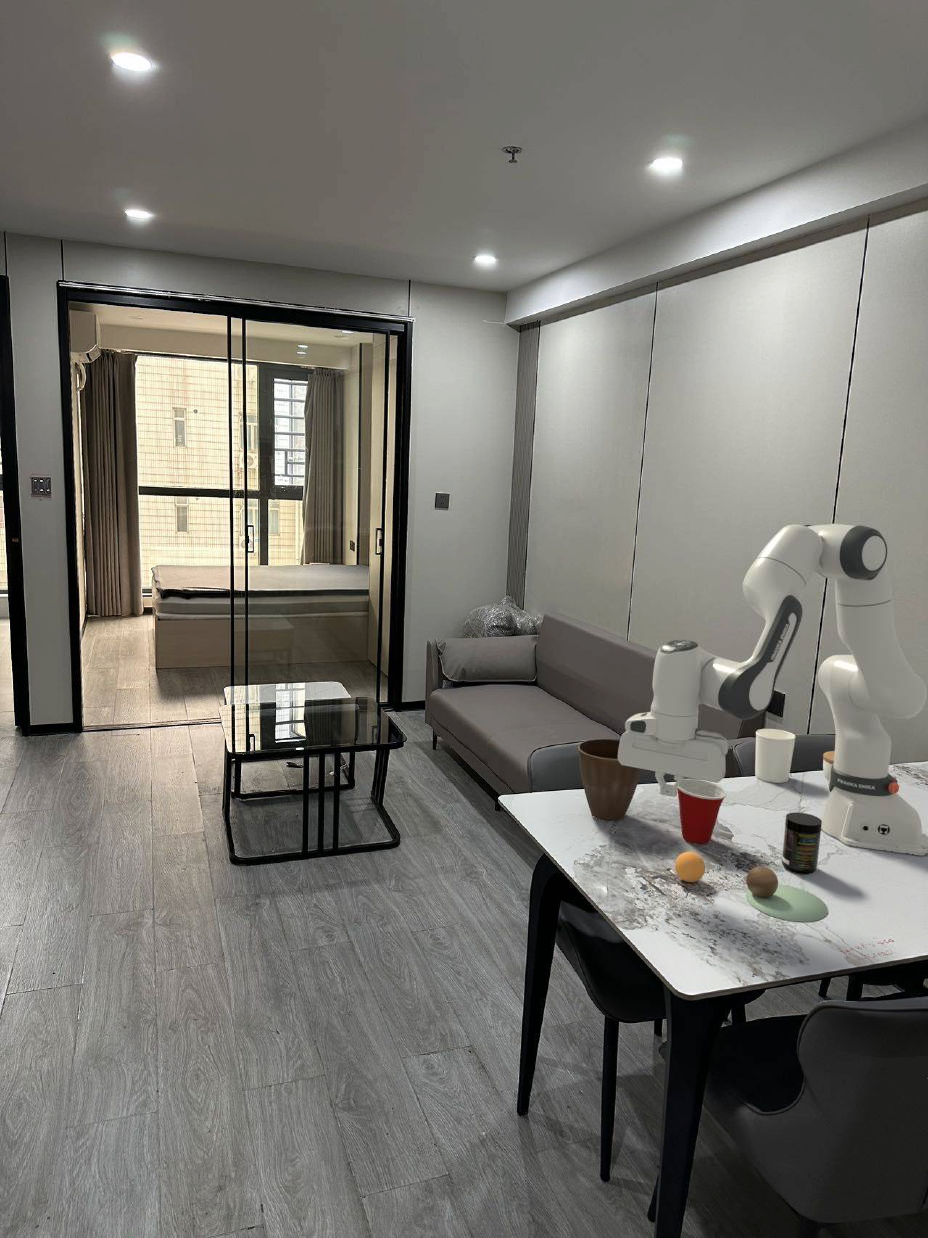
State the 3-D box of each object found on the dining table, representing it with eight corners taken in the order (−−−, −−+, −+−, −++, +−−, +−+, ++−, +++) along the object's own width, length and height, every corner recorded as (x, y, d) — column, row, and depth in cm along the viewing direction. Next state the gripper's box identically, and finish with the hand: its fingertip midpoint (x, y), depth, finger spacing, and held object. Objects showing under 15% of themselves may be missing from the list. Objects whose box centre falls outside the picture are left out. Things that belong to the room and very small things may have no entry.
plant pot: (627, 834, 186) (632, 763, 183) (564, 819, 193) (567, 750, 190) (649, 812, 199) (653, 746, 196) (588, 799, 206) (592, 735, 203)
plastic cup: (725, 852, 178) (730, 797, 176) (672, 846, 180) (676, 792, 178) (721, 832, 188) (725, 780, 186) (670, 827, 190) (674, 775, 189)
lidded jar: (875, 791, 218) (878, 756, 217) (840, 794, 215) (843, 758, 214) (845, 777, 228) (848, 743, 227) (811, 780, 225) (814, 746, 224)
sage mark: (831, 897, 160) (831, 896, 160) (822, 929, 148) (822, 928, 147) (753, 878, 166) (753, 877, 166) (739, 908, 154) (739, 907, 154)
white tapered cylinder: (770, 786, 220) (774, 740, 218) (744, 773, 229) (747, 730, 227) (799, 781, 224) (804, 737, 222) (772, 770, 232) (776, 727, 231)
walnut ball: (743, 865, 163) (755, 893, 162) (739, 876, 158) (751, 905, 157) (772, 858, 160) (784, 886, 160) (768, 869, 155) (781, 898, 155)
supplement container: (824, 874, 169) (829, 823, 168) (795, 877, 167) (800, 826, 166) (801, 859, 176) (806, 811, 174) (774, 862, 174) (778, 813, 172)
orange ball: (675, 853, 168) (694, 876, 167) (664, 869, 164) (684, 892, 163) (695, 841, 165) (715, 864, 164) (685, 857, 160) (705, 881, 160)
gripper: (732, 730, 161) (726, 800, 163) (627, 713, 171) (623, 780, 173) (725, 738, 155) (719, 811, 158) (617, 720, 165) (613, 789, 167)
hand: (668, 794), depth 165 cm, fingers closed
